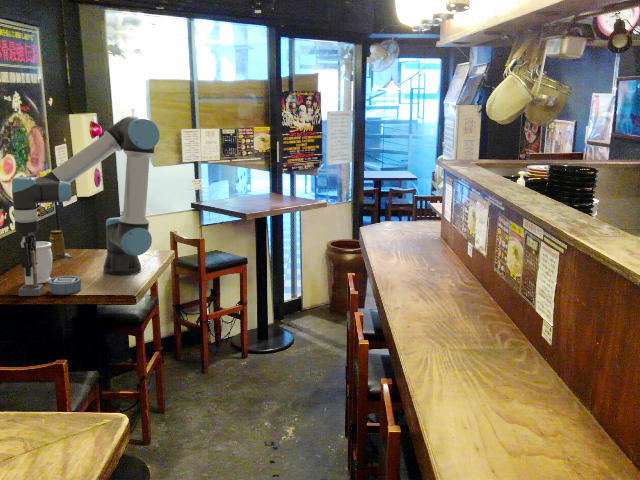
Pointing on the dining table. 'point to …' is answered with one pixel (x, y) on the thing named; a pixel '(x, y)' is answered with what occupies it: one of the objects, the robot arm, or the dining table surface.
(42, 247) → the jar
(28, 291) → the grey slotted block
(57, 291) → the candle dish
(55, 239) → the condiment
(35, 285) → the brown long rectangular bar
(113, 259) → the robot arm
